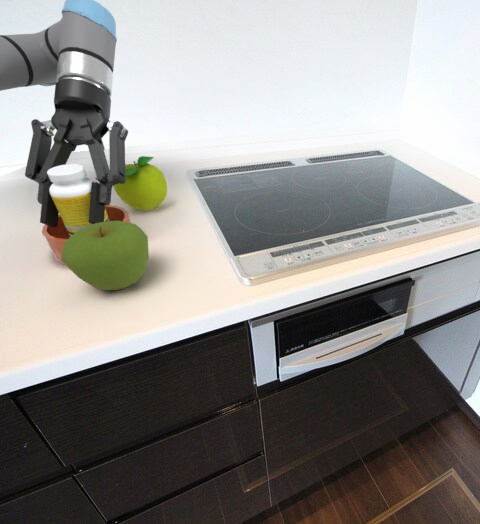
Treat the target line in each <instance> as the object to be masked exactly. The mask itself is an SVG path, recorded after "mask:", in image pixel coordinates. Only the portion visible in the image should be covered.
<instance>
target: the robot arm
mask: <svg viewBox="0 0 480 524" xmlns="http://www.w3.org/2000/svg"><path fill="white" fill-rule="evenodd" d="M61 16H62V17H61V18H60V20H59V21H57V22H54V23H53V24H51V25H50V26H48V27H47V28H45V29H43V30H41V31H40V32H34V33H18V34H17V33H15V34H0V92H1V91H7V90H12V89H18V88H27V87H32V86H42V87H53V86H55V87H54V94H53V105H54V113H53V115H52V116H51V118H50V120H44V121H41V120H39V119H36V118H35V119H32V120H31V122H30V124H31V129H32V137H31V143H30V146H29V147H30V148H29V151H28V157H27V161H26V166H25V172H24V177H26V178H27V179H29V180H31V181H33V182H35V183H37V184H38V189H37V198H36V200H37V203H38V204H41V207H40V208H41V209H40V215H39V216H40V218H39V223H40V224H42V225H48V226H51V227H57V226H58V216H59V212H58V210H57V208H56V205H55V203H54V201H53V199H52V197H51V195H50V192H49V189H50V186H51V185H52V184H53V182H51V180H50V178H49V176H48V174H47V171H48V170H49V169H51V168H53V167H56V166H60V165H66V164H68V163H67V162H68V160H69V158H70V156H71V155H72V152H75V151H76V149H77V147H78V146H83V145H85V146H87V148H88V152H89V155H90V158H91V162H92V165H93V169H94V172H95V176H96V177H94V178H95V181H94V182H92V186H91V198H90V211H89V223H92V224H95V223H100V222H104V215H105V205H111V203H112V192H113V190H112V189H113V188H114V185H115V184H119V183H120V184H123V183H125V165H126V140H127V137H128V135H129V130H128V129H127V128H126V127H125V126H124V124H122V122H120V121H118V120H115V121H114V122H112V121H110V118H111V107H112V98H111V97H112V94H113V93H112V91H113V79H114V67H115V56H116V46H117V40H118V39H117V23H116V20H115V17H114V16H113V14H112V13H111V12H110V10H108V9H107V7H105V6H104V5H102V4H101V3H100V2H98V1H96V0H65V1H64V4H63V8H62V9H61ZM55 130H56V131H55ZM54 131H55V133H54ZM106 134H109V136H108V137H109V139H108V141H109V142H108V145H109V162H108V160H107V156H106V152H105V151H106V150H105V145H104V142H103V139H102V138H103V137H105V136H106ZM52 142H53V144H52ZM96 181H98V182H96Z"/></svg>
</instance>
